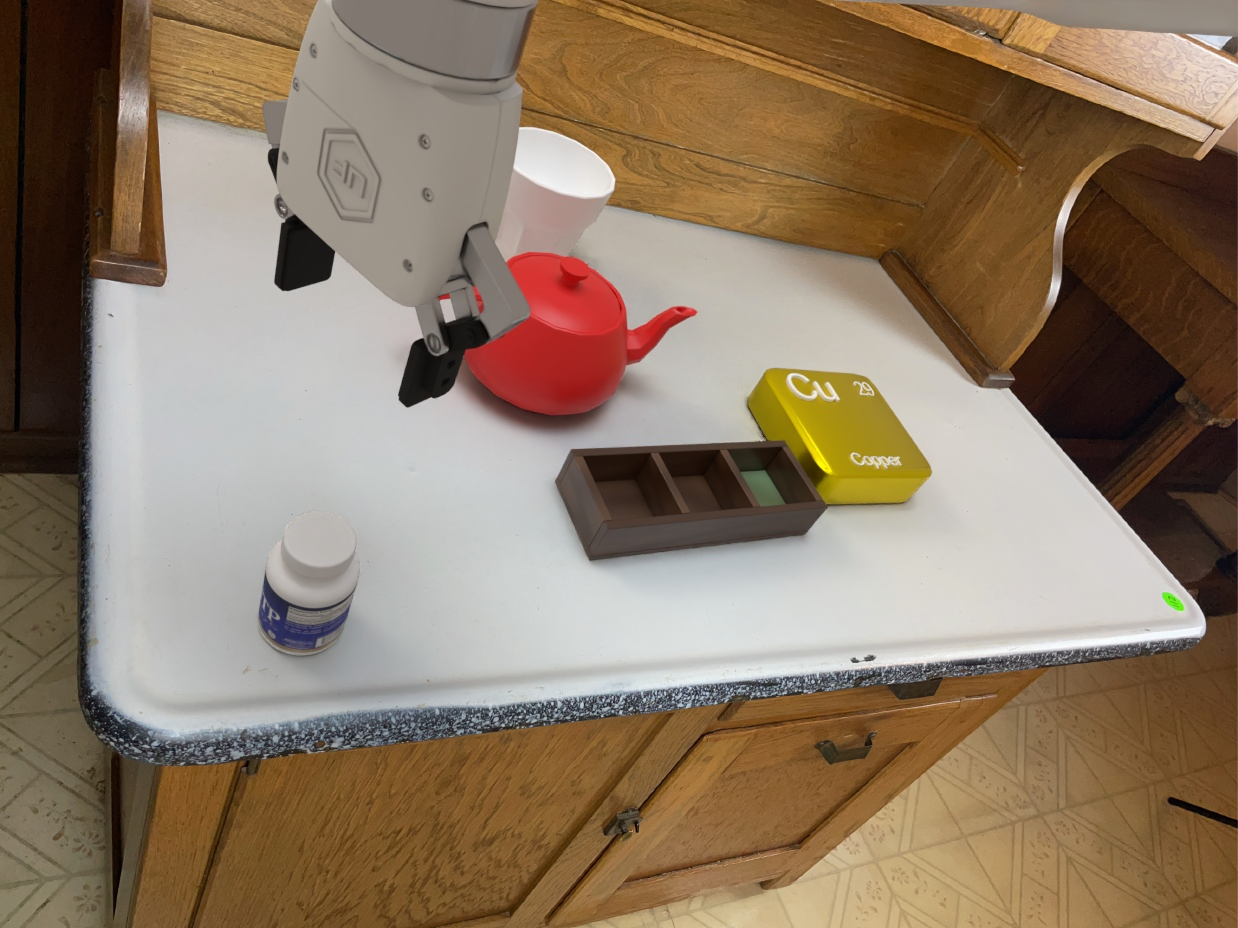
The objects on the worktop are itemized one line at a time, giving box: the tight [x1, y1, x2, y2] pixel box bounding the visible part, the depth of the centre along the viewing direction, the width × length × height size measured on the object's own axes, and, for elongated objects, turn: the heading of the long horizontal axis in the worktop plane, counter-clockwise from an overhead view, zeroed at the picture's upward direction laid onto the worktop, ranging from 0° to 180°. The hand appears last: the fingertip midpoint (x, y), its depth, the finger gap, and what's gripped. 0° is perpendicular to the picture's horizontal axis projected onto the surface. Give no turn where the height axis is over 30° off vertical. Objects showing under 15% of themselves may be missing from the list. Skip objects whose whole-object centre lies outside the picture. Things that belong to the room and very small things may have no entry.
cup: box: [495, 126, 616, 262], centre depth 89 cm, size 12×12×11 cm
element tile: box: [747, 367, 933, 505], centre depth 87 cm, size 15×15×5 cm
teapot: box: [438, 252, 698, 417], centre depth 76 cm, size 25×16×12 cm, turn 107°
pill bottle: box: [257, 510, 361, 656], centre depth 51 cm, size 5×5×9 cm
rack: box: [554, 440, 829, 561], centre depth 73 cm, size 8×23×4 cm, turn 114°
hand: (361, 337), depth 45 cm, fingers open, 9 cm apart
